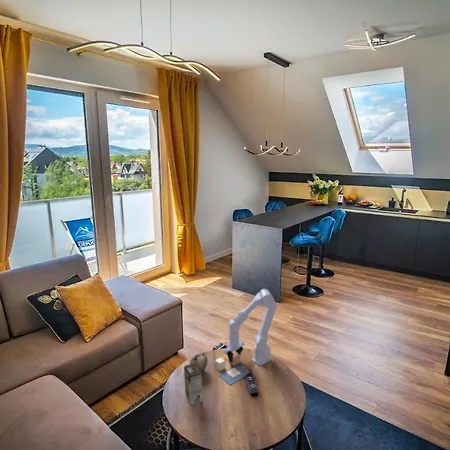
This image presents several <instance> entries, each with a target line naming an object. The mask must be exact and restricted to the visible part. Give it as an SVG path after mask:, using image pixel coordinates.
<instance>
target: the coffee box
mask: <svg viewBox="0 0 450 450" xmlns="http://www.w3.org/2000/svg"><path fill="white" fill-rule="evenodd" d="M183 373H184V391H185V392H184V394H185V395H186V398H187V400H188V402H189V404H190V405H192V406H193V405H195V404H197V403H198V404H199V403H200V402H203V386H202V385H203V383H202V382H203V380H202V379H203V377H202V376H203V375H201V371H200V370H199V368H198V367H197V365H196V363H194V364H190V363H189V364H187V365H184V366H183Z"/></svg>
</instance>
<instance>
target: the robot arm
mask: <svg viewBox="0 0 450 450" xmlns="http://www.w3.org/2000/svg"><path fill="white" fill-rule="evenodd" d="M264 305H265V307H266V309H265V312H264V315H263V319H262V321H261V324H260V327H259V330H257V331H256V334H255V335H254V337H253V339H254V341H255V344H254V357H253V358H251V362H254V363H256V364H257V365H259V366H260V367H261V366H263V365H265V364H267V363H268V362H270V361H272V358H271V347H270V345H269V344H268V334H269V332H270V328H271V326H272V321H273V319H274V316H275V313H276V310H277V304H276V302H275V299H274V296H273V295H272V292H270V290H269V289H267V288H262V289H260V291H259V292H257V294H255V296H254V298H253V299H252V300H251V302H249V304H248V305H247V306H246V307H245V308H244V309H241V310H239V311H238V312H237V314H236V315H235V316H234V317H232V318H231V319H229V321H228V326H229V327H228V329H229V332H228V333H229V334H228V336H229V337H228V341H229V342H228V346H226V348H225V349H223V353H224V354H225V355H226V356H227V358H229V359H228V362H229V361H230V362H231V363H232V361H233V353H232V352H234V351H235V352H237V353H238V354H240V356H241V354H242V352H243V350H244V346H245V342H244V341H243V340H242V341H240V332H239V330H240V327H241V326H242V325H243V324H244V323H245V322H246V320H247V319H249V315H250V313H252V312H253V310H255V309H256V308H257V307H258V306H259V307H260V306H264ZM231 363H230V364H231Z"/></svg>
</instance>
